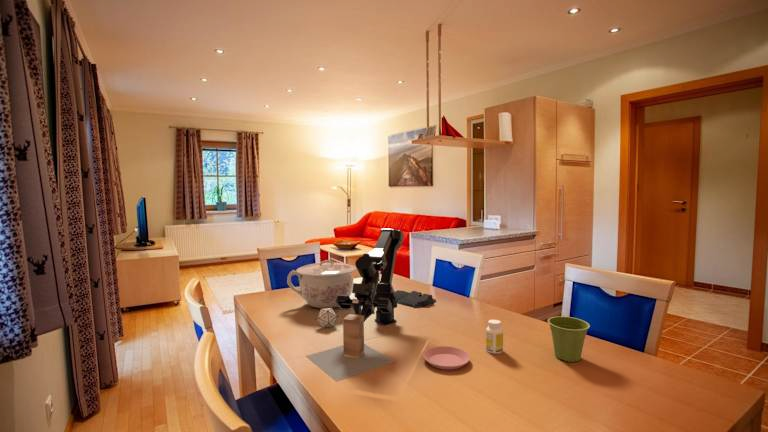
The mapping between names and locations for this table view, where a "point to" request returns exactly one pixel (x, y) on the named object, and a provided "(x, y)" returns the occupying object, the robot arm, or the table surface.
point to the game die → (326, 317)
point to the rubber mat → (347, 362)
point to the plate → (446, 357)
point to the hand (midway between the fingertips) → (357, 327)
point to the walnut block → (353, 335)
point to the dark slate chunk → (414, 299)
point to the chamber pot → (323, 282)
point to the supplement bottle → (494, 337)
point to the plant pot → (568, 337)
